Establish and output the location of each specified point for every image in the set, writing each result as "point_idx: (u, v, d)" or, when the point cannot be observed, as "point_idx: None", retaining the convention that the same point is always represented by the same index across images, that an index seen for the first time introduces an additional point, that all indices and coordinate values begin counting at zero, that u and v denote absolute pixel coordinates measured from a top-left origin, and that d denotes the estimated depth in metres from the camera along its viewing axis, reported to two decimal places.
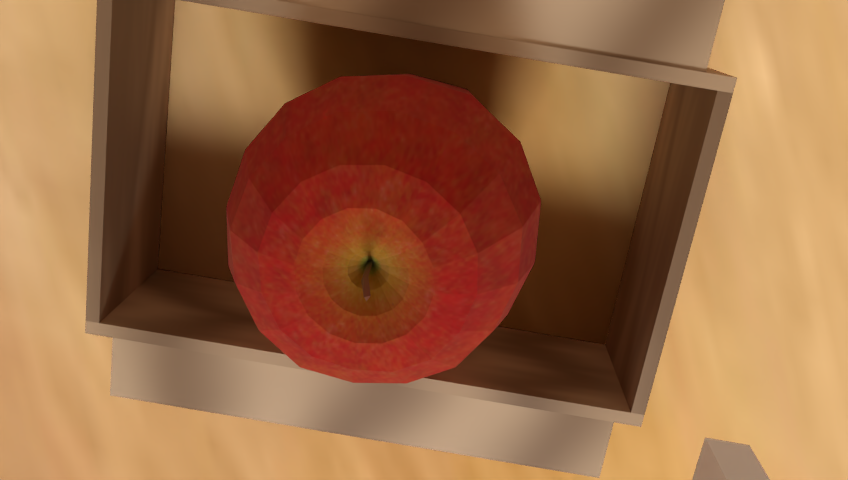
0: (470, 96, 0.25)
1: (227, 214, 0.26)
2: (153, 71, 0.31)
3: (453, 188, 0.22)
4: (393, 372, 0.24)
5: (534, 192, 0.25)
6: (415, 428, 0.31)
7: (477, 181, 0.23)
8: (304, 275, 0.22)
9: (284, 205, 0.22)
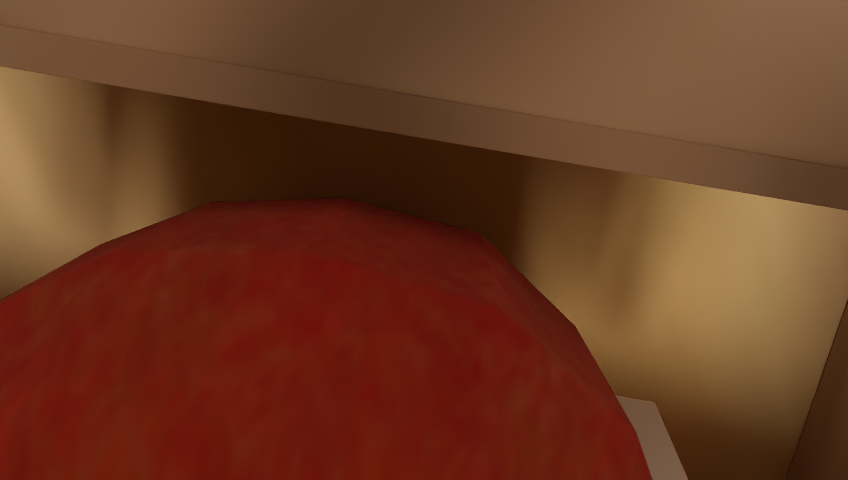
0: (494, 313, 0.08)
1: None
2: None
3: None
4: None
5: None
6: None
7: None
8: None
9: None
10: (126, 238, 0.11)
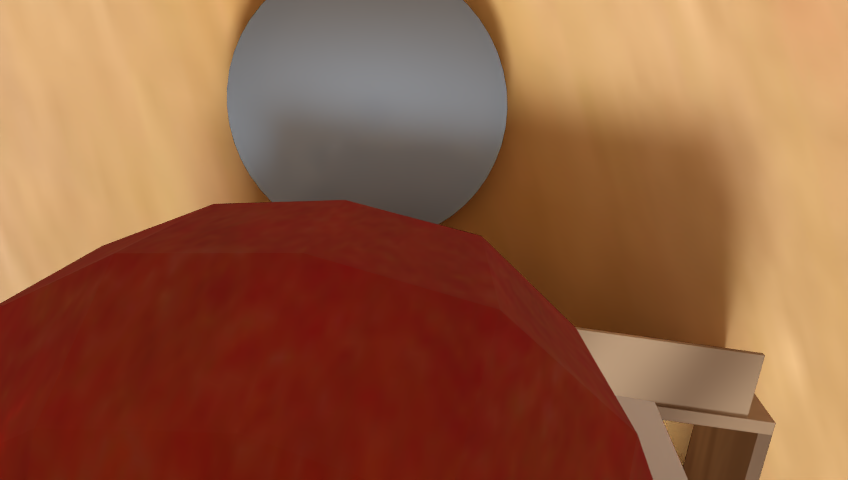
0: (496, 315, 0.08)
1: None
2: None
3: None
4: None
5: None
6: None
7: None
8: None
9: None
10: (127, 240, 0.11)
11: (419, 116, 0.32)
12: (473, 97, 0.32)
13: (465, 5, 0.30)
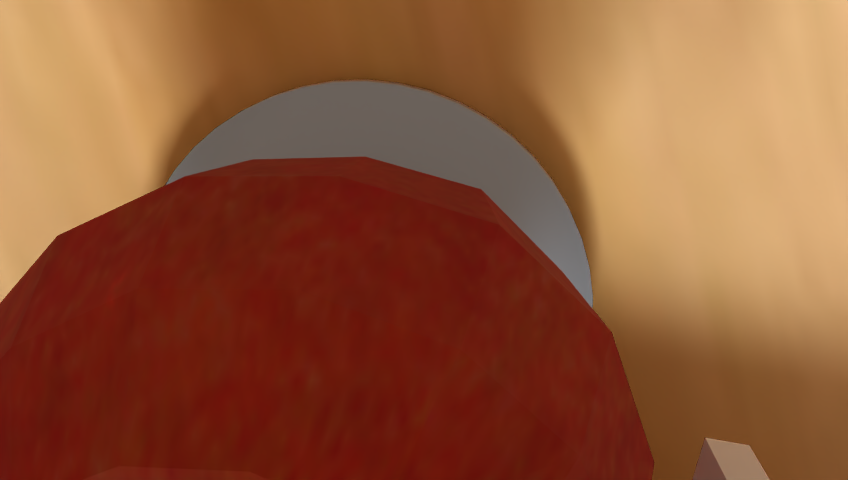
0: (496, 228, 0.10)
1: None
2: None
3: None
4: None
5: (642, 449, 0.11)
6: None
7: None
8: None
9: None
10: None
11: None
12: None
13: (532, 163, 0.18)
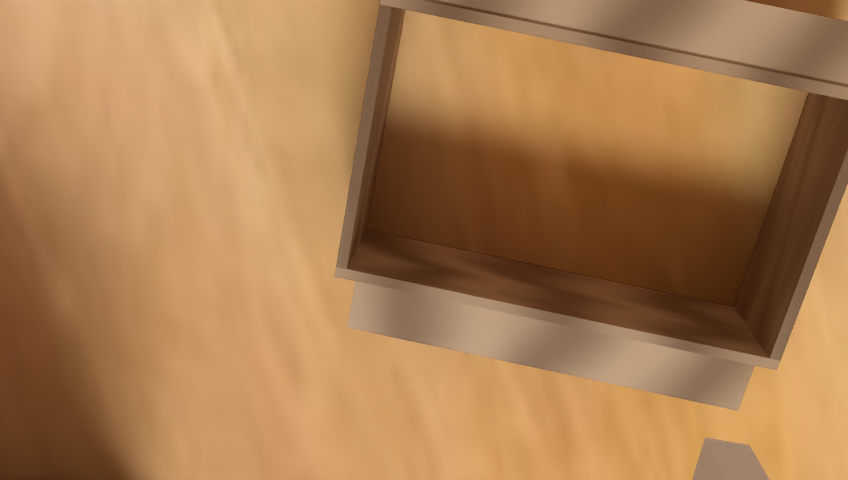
0: None
1: None
2: (390, 68, 0.39)
3: None
4: None
5: None
6: (592, 364, 0.39)
7: None
8: None
9: None
10: None
11: None
12: None
13: None
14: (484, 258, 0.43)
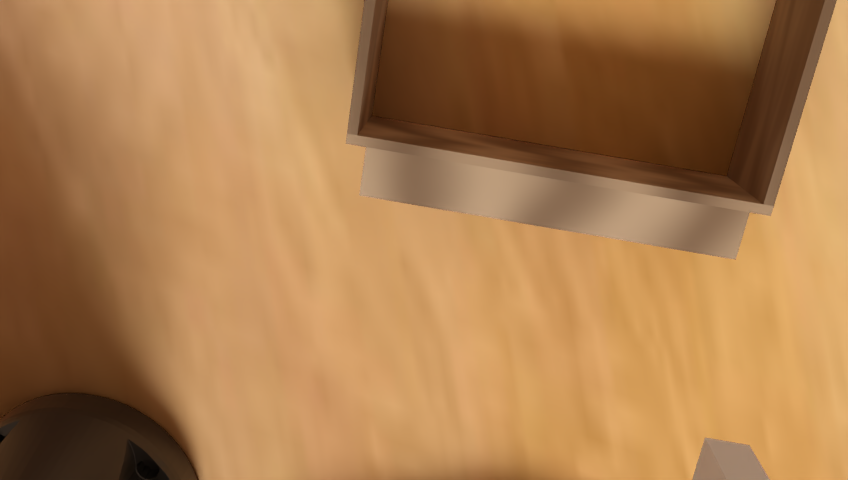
0: None
1: None
2: None
3: None
4: None
5: None
6: (595, 220, 0.40)
7: None
8: None
9: None
10: None
11: None
12: None
13: None
14: (486, 137, 0.45)
